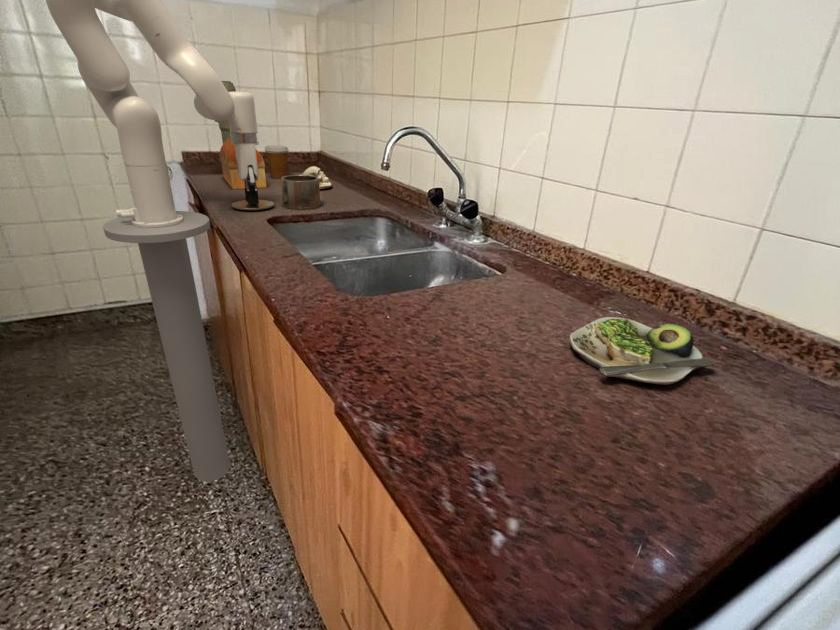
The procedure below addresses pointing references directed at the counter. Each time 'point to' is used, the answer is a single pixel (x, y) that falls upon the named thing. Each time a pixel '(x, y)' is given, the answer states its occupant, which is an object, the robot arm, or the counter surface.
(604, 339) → the avocado toast plate
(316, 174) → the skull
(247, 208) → the lid
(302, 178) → the pot
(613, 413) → the counter surface
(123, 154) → the robot arm
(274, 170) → the disposable coffee cup
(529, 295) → the counter surface
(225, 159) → the bread
